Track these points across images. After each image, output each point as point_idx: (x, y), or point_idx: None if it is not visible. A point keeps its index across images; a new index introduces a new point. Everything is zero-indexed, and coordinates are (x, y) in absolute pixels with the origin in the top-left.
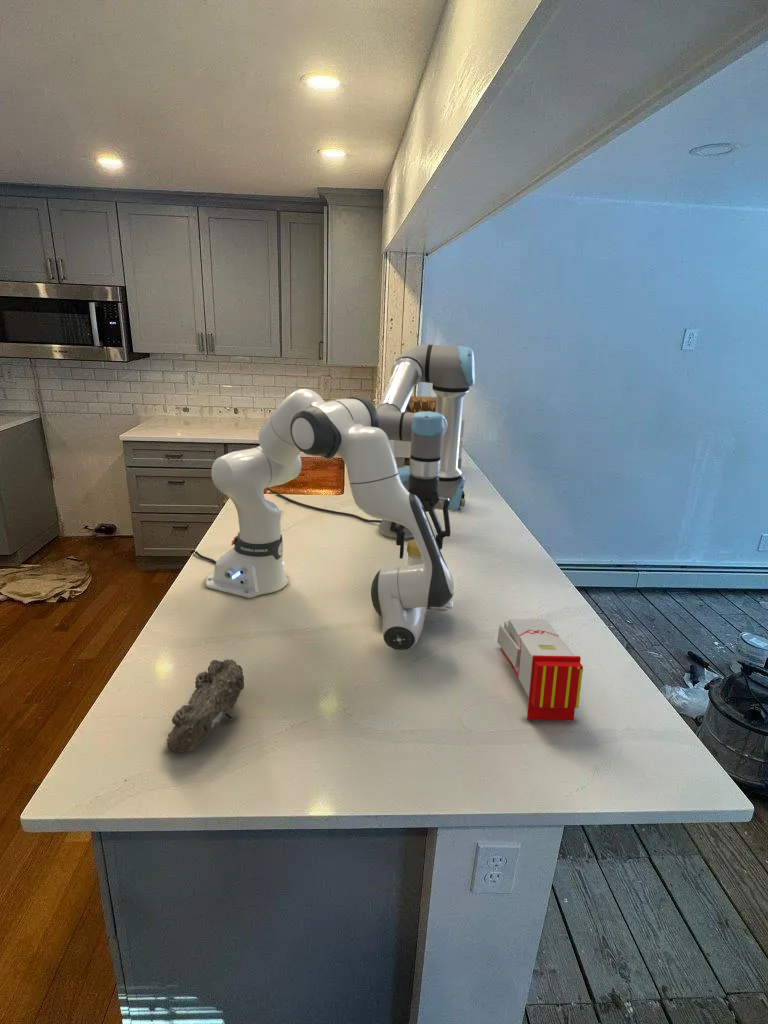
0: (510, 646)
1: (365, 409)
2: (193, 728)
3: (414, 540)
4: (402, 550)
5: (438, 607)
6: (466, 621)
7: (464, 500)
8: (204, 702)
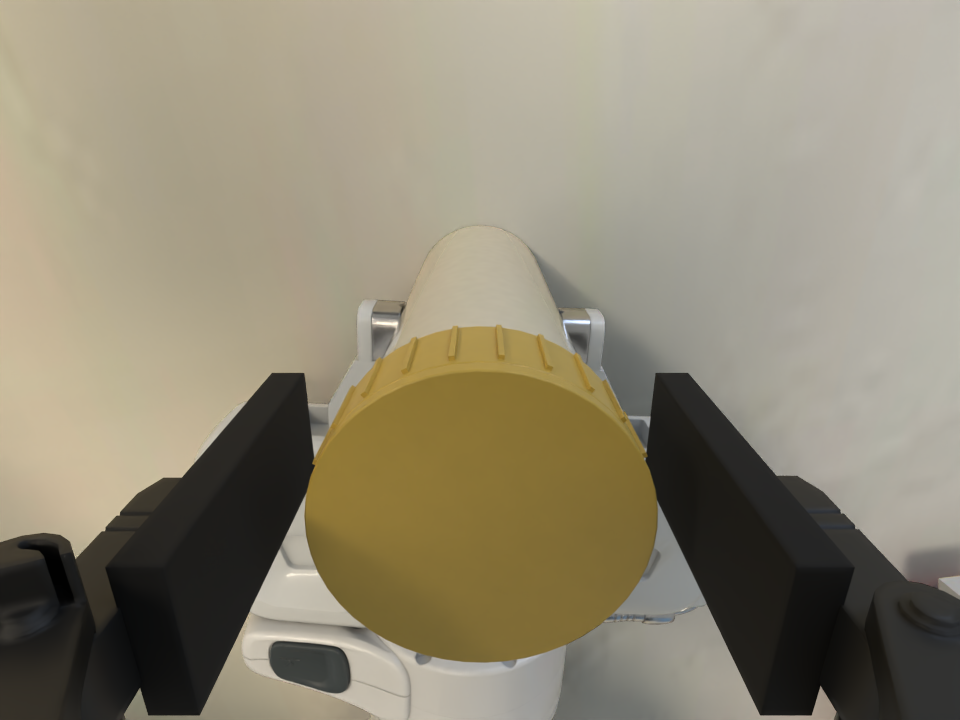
0: None
1: None
2: None
3: (390, 432)
4: (283, 532)
5: (631, 620)
6: (758, 417)
7: None
8: None
